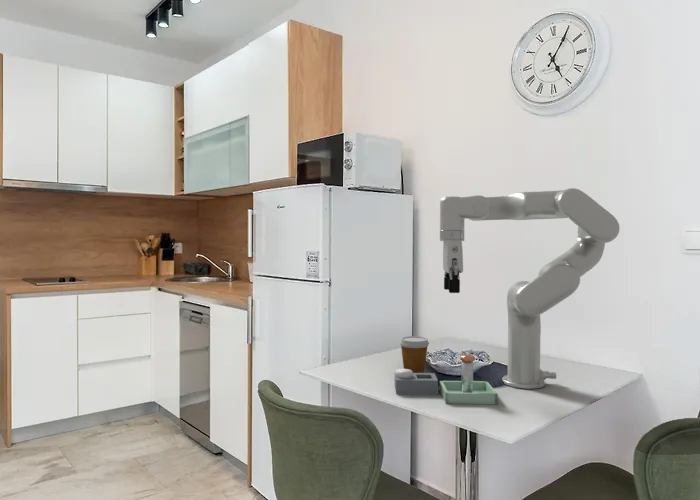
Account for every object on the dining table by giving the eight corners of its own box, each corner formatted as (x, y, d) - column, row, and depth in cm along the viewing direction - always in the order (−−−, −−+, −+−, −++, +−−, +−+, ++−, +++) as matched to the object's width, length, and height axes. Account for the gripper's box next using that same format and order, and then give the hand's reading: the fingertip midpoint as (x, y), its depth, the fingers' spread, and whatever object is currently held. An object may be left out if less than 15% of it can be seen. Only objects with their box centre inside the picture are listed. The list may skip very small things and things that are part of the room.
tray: (487, 390, 151) (487, 381, 151) (497, 404, 139) (497, 393, 139) (439, 390, 151) (439, 380, 151) (445, 403, 139) (445, 393, 139)
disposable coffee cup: (428, 380, 162) (428, 342, 162) (397, 378, 164) (398, 341, 164) (429, 372, 171) (429, 336, 171) (401, 370, 173) (401, 335, 173)
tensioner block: (434, 386, 155) (434, 367, 155) (437, 394, 147) (438, 375, 147) (394, 385, 156) (394, 367, 156) (396, 393, 148) (396, 374, 148)
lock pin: (472, 392, 147) (473, 354, 147) (475, 397, 143) (476, 357, 143) (458, 392, 147) (459, 354, 147) (461, 396, 143) (461, 357, 143)
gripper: (469, 236, 151) (469, 294, 152) (459, 236, 168) (458, 288, 169) (444, 236, 151) (443, 294, 152) (436, 236, 169) (435, 288, 169)
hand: (451, 291), depth 160 cm, fingers open, 9 cm apart
